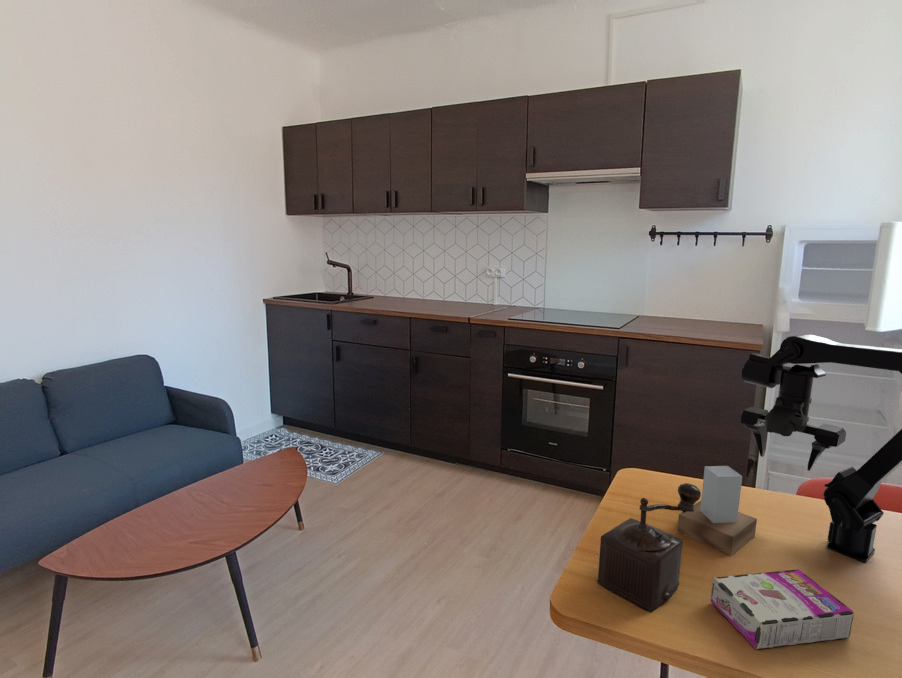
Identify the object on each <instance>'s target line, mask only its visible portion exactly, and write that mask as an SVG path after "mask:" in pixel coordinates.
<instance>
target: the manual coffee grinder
mask: <svg viewBox="0 0 902 678" xmlns="http://www.w3.org/2000/svg"><path fill="white" fill-rule="evenodd" d="M677 493H678V495H679V498H680V500H679V502H678V503H677V506H676V505H671V504H663V503H656V504H651V505H648V504H649V500H648V498H646V497H642V498H641V499H640V500H639V501H640V502H639V503H640V505H639V510H640V519H639V520H637V519H635V518H632V517H630V518H628V519H627V520H626V519H625V521H623V522H621V523H620V524H618V525H617V526H615V527H613V528H611V530H608V531H607V532H605V533H604V534H602V535H601V536H600V548H599V559H598V560H599V563H598V575H597V585H599V586H601V587H602V588H604V589H606V591H609V592H611V593H613V594H615V595H616V596H619V597H620V598H622V599H623V600H625V601H627V602H629V603H630V604H632V605H635V606H636V607H638V608H640V609H642V610H643V611H645V612H649V613H652V612H653V611H655V610H657V608H659V607H660V606H662V605H663V604H664V603H666V602H668V601H669V600H670V599H671V598H672V597H673V594H674V593H675V592H676V591H677V590H678V587H679V586H680V575H681V574H680V573H681V564H682V563H681V562H682V553H683V544H684V539H682V538H680V537H678V536H676V535H674V534H672V533H669V532H667V531H665V530H662V529H659V528H657V527H655V526H653V525H650V524H648V523H647V512H652V511H656V510H668V511H669V510H670V511H677V512H678V511H680V512H683V513H685V512H687V511H689V512H694V508H693V505H695V504H696V502H697V501H698V502H699V501H700V500H701V499H700V498H701V497H702V492H701V490H700V488H698V486H697V485H694V484H692V483H687V482H685V483H680V484H679V485H678V487H677Z"/></svg>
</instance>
